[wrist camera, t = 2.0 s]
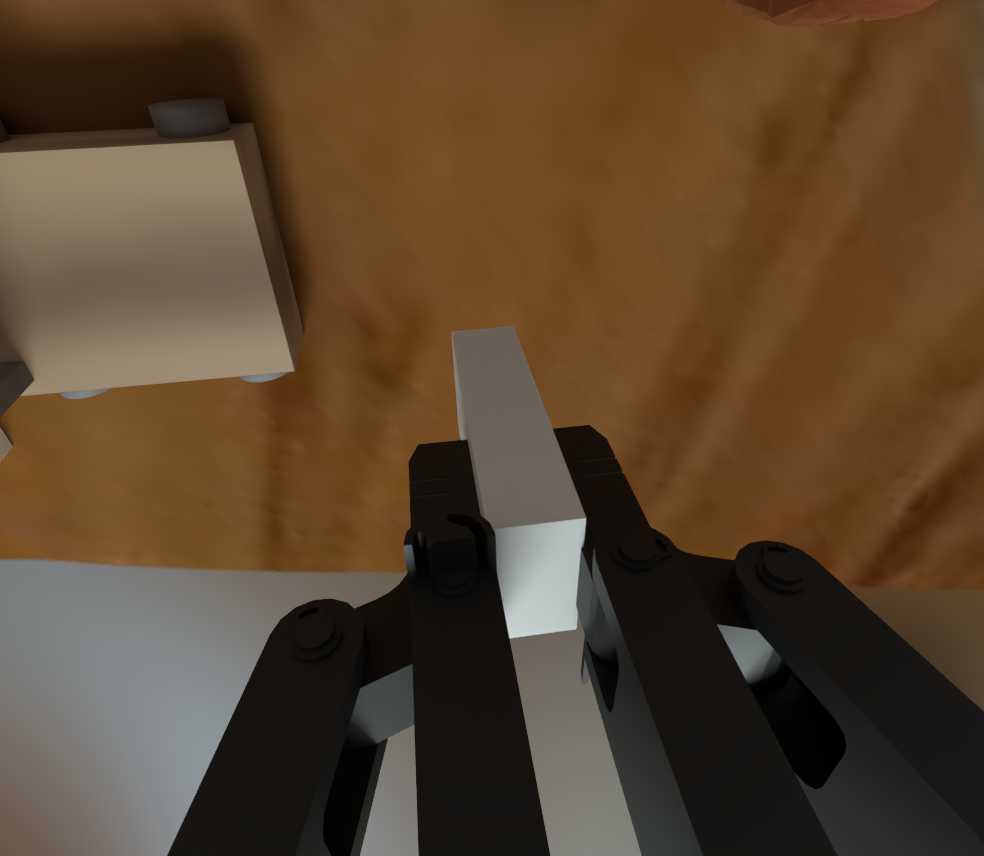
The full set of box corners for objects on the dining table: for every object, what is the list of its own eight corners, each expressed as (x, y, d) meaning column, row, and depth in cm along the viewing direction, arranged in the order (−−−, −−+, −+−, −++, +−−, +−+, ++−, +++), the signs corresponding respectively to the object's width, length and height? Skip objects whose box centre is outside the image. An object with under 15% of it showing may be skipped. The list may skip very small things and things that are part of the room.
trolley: (-78, 110, 19) (-435, 198, 11) (247, 95, 20) (145, 165, 11) (63, 370, 24) (-100, 555, 16) (308, 349, 25) (269, 515, 17)
